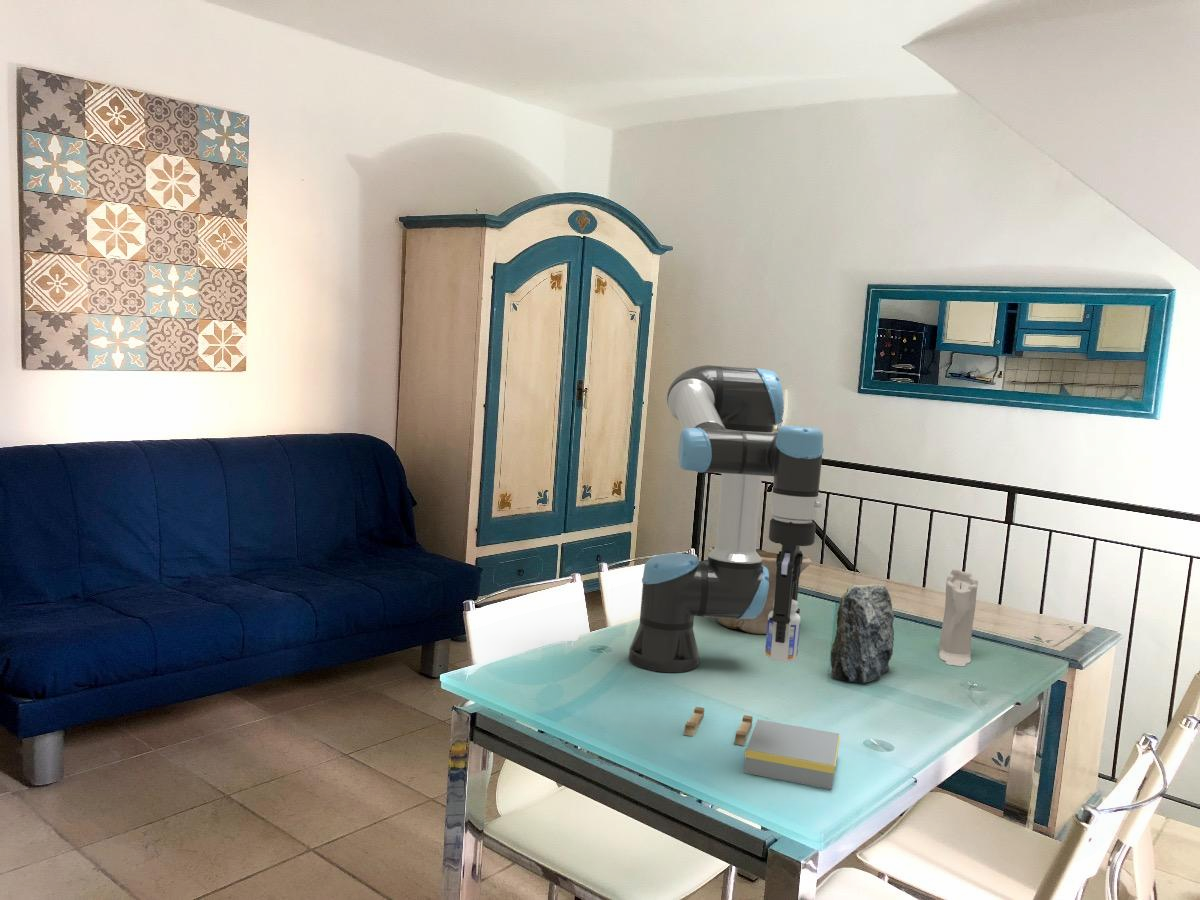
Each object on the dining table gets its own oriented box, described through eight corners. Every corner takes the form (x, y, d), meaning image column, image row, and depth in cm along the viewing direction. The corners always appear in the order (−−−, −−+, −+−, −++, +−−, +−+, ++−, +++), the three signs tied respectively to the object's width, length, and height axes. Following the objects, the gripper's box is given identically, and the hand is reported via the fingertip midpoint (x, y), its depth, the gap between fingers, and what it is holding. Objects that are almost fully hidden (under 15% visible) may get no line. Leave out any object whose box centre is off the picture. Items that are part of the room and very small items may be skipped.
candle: (939, 663, 226) (948, 578, 223) (938, 647, 239) (947, 566, 236) (972, 668, 223) (981, 583, 221) (970, 652, 236) (979, 570, 234)
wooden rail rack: (684, 734, 173) (684, 725, 173) (695, 715, 183) (696, 706, 183) (743, 745, 170) (744, 735, 170) (751, 725, 180) (752, 716, 180)
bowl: (819, 624, 251) (826, 548, 249) (782, 646, 230) (790, 563, 228) (727, 605, 265) (734, 532, 263) (685, 624, 243) (691, 545, 241)
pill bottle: (775, 650, 169) (779, 594, 168) (803, 658, 165) (808, 601, 164) (758, 656, 164) (763, 599, 164) (786, 664, 161) (791, 606, 160)
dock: (743, 772, 159) (745, 749, 159) (755, 740, 173) (757, 719, 172) (832, 790, 155) (835, 765, 155) (837, 755, 169) (840, 733, 168)
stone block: (859, 689, 204) (869, 595, 202) (823, 676, 211) (831, 586, 208) (903, 672, 217) (913, 585, 215) (868, 661, 223) (876, 576, 221)
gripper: (810, 529, 153) (797, 674, 155) (821, 514, 170) (809, 645, 172) (762, 524, 155) (750, 667, 157) (778, 510, 172) (767, 638, 175)
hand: (781, 655), depth 165 cm, fingers closed on pill bottle, 5 cm apart
